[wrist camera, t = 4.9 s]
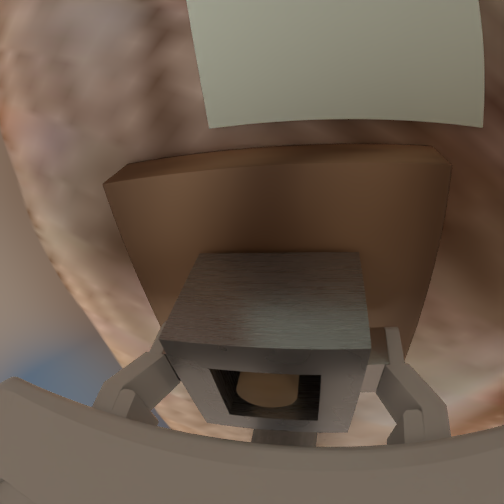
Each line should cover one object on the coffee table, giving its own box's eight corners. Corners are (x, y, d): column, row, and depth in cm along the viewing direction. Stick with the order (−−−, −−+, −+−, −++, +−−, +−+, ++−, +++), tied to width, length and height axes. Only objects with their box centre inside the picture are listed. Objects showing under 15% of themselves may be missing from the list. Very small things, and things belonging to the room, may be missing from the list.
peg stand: (431, 146, 10) (514, 235, 5) (392, 353, 16) (400, 447, 12) (127, 164, 12) (34, 245, 7) (194, 349, 19) (165, 433, 14)
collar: (358, 252, 10) (371, 348, 7) (347, 352, 13) (347, 432, 10) (199, 253, 11) (158, 339, 8) (227, 348, 15) (207, 422, 11)
